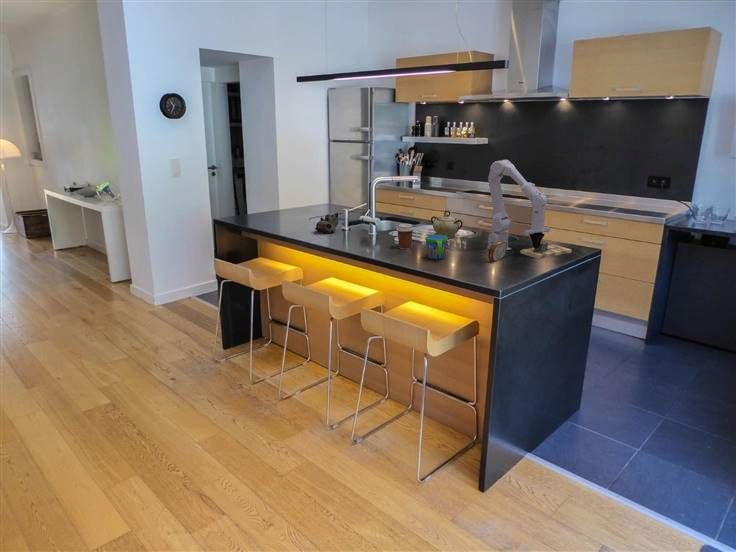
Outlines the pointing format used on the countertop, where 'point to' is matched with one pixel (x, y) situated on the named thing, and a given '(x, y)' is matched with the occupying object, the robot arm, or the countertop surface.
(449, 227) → the sugar bowl
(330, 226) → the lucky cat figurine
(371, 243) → the countertop surface
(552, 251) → the fader board
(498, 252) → the tin
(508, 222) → the robot arm
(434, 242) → the snack cup
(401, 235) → the coffee cup
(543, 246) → the fader knob
